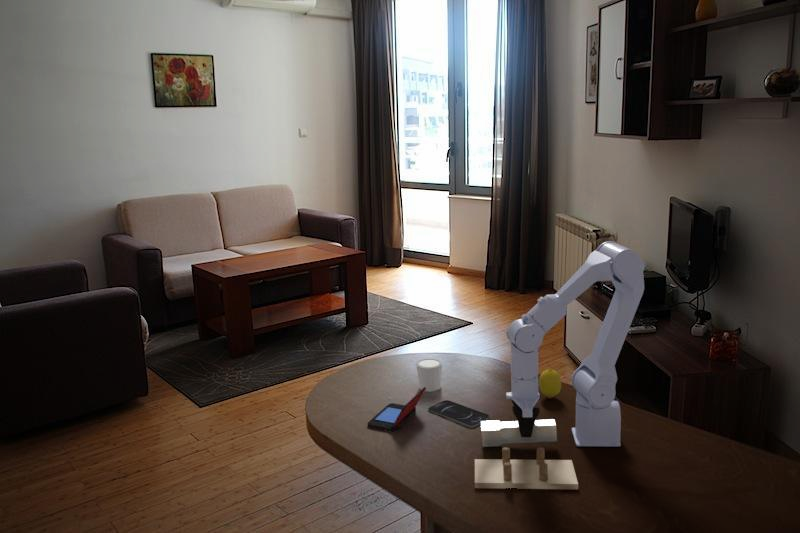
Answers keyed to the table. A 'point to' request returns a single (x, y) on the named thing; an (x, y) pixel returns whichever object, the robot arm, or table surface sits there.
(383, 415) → the handheld game console
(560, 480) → the peg cradle
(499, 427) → the bar
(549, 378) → the lemon
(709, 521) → the table surface
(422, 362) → the white cylinder
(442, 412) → the smartphone
